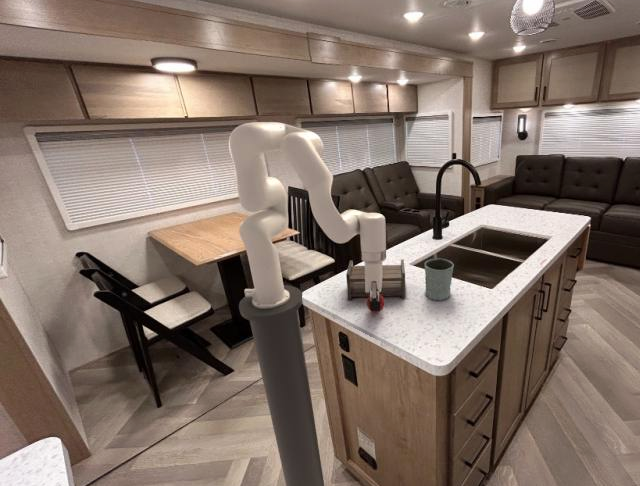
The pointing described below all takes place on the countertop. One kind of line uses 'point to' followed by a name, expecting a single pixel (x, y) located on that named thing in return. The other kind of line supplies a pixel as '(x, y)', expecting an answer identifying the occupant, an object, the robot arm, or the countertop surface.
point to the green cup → (438, 278)
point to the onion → (380, 303)
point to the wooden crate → (390, 280)
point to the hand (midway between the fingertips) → (375, 304)
